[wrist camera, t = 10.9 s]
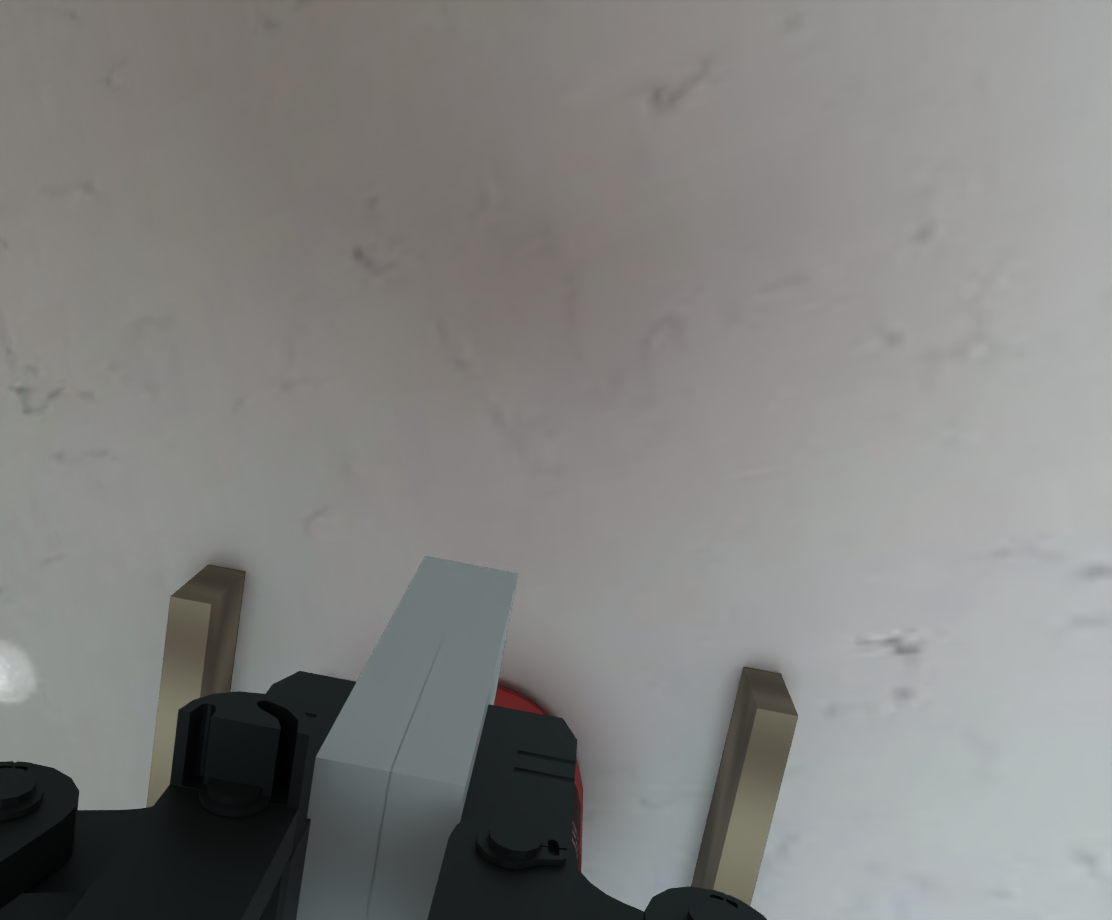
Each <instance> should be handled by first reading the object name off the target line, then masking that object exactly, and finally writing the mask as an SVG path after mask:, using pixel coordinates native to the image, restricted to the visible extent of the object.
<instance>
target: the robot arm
mask: <svg viewBox="0 0 1112 920" xmlns="http://www.w3.org/2000/svg"><path fill="white" fill-rule="evenodd" d="M517 577H518V573H513V572H508V571H502V570H497V569H492V568H487V567H481V566H476V565H471V564H466V563H460V562H455V561H450V560H445V559H439V558H434V557H429V556H425V557H424V559H423V561H422V563H421V565H420V566H419V568H418V570H417V572H416V574H415V576H414V577H413V579H412V581H411V583H410V585H409V587H408V588H407V590H406V592H405V594H404V596H403V598H402V600H401V601H400V603H399V605H398V607H397V609H396V611H395V612H394V614H393V616H392V618H391V620H390V622H389V623H388V625H387V627H386V629H385V631H384V633H383V634H382V636H381V638H380V640H379V642H378V644H377V645H376V647H375V649H374V651H373V653H372V655H371V657H370V658H369V660H368V662H367V664H366V666H365V668H364V669H363V671H362V673H361V675H360V677H359V679H358V680H357V682H355V681H349V680H344V679H339V678H334V677H328V676H323V675H318V674H313V673H307V672H302V671H299V672H297V673H295V674H293V675H291V676H289V677H287V678H285V679H283V680H281V681H279V682H277V683H275V684H273V685H272V686H271V687H270V689H269V690H268V691H267V693H266V694H259V693H249V692H227V693H215V694H211V695H208V696H205V697H201V698H198V699H195V700H192V701H191V702H189V703H188V704H186V705H185V706H184V707H182V708H181V709H179V710H178V718H177V726H176V735H175V744H174V752H173V761H172V770H171V778H170V785H169V786H168V788H167V789H166V790H165V791H164V793H163V794H162V795H161V797H160V798H159V799H158V800H157V802H156V803H155V804H154V806H152V807H147V808H142V809H130V810H77V809H78V798H79V790H78V788H77V787H76V785H75V783H74V782H73V780H72V779H71V778H70V777H69V776H67V775H65V774H63V773H61V772H60V771H58V770H56V769H54V768H51V767H46V766H42V765H37V764H33V763H28V762H17V763H13V761H11V762H0V920H767V919H766V918H765V917H764V916H763V915H762V914H760V913H759V912H757V911H756V910H755V909H753V908H752V907H750V906H749V905H747V904H746V903H744V902H743V901H741V900H739V899H737V898H735V897H733V896H731V895H726V894H725V893H723V892H719V891H716V890H711V889H704V888H698V887H681V888H671V889H668V890H666V891H664V892H662V893H660V894H658V895H656V896H654V897H653V898H652V899H651V901H650V903H649V905H648V906H647V908H646V910H645V912H643V911H641V910H639V909H636V908H634V907H632V906H629V905H627V904H624V903H622V902H620V901H618V900H616V899H614V898H612V897H610V896H608V895H607V894H605V893H604V892H602V891H601V890H599V889H598V888H597V887H595V886H594V885H593V884H591V883H590V882H589V881H588V880H587V879H586V878H585V876H584V875H583V874H582V873H581V872H580V871H579V869H578V861H577V857H576V853H575V850H574V846H573V845H572V844H571V843H572V825H573V806H574V787H575V783H574V781H575V768H576V765H575V763H576V749H577V739H576V738H575V736H574V735H573V733H572V732H571V730H570V729H569V727H568V726H567V724H566V723H565V721H564V720H563V718H558V717H553V716H548V715H542V714H537V713H532V712H527V711H522V710H516V709H511V708H506V707H501V706H495V705H494V701H495V695H496V690H497V684H498V679H499V674H500V668H501V663H502V658H503V652H504V647H505V642H506V636H507V631H508V625H509V620H510V615H511V609H512V604H513V599H514V593H515V588H516V582H517Z"/></svg>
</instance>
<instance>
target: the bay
mask: <svg viewBox="0 0 1112 920" xmlns="http://www.w3.org/2000/svg"><path fill="white" fill-rule="evenodd" d="M244 579H245V572H243V571H237V570H232V569H227V568H222V567H216V566H211V565H207V566H206V567H205V568H204V569H203V570H201V571H200V572H199V573H198V574H197V575H195V576H194V577H193V578H192V579H191V580H189V581H188V582H187V583H186V584H185V585H183V586H182V587H181V588H180V589H179V590H177V591H176V592H175V593H174V594H173V595H171V596H170V605H169V613H168V622H167V631H166V640H165V649H164V657H163V666H162V675H161V684H160V693H159V701H158V710H157V719H156V728H155V736H154V745H153V754H152V763H151V772H150V780H149V789H148V798H147V807H152V806H154V804H155V803H156V802H157V800H158V799H159V798H160V797H161V795H162V794H163V793H164V791H165V790H166V789H167V788H168V786H169V785H170V778H171V770H172V761H173V752H174V744H175V735H176V726H177V718H178V710H179V709H181V708H182V707H184V706H185V705H186V704H188V703H189V702H191V701H192V700H195V699H198V698H201V697H205V696H208V695H211V694H215V693H227V692H230V687H231V679H232V672H233V664H234V656H235V648H236V641H237V633H238V625H239V617H240V610H241V602H242V594H243V586H244ZM797 719H798V714H797V712H796V710H795V707H794V705H793V702H792V700H791V697H790V695H789V692H788V690H787V688H786V685H785V683H784V680H783V678H782V675H781V674H777V673H772V672H767V671H762V670H756V669H751V668H746V667H744V668H743V672H742V676H741V680H740V684H739V688H738V693H737V697H736V701H735V705H734V709H733V714H732V718H731V722H730V726H729V730H728V735H727V739H726V743H725V747H724V751H723V756H722V760H721V764H720V768H719V772H718V777H717V781H716V785H715V789H714V793H713V798H712V802H711V806H710V810H709V814H708V819H707V823H706V827H705V831H704V835H703V839H702V844H701V848H700V852H699V856H698V860H697V865H696V869H695V873H694V877H693V881H692V886H691V887H698V888H704V889H711V890H716V891H719V892H723V893H725V894H726V895H731V896H733V897H735V898H737V899H739V900H741V901H743V902H744V903H746V904H747V905H749V906H750V905H751V901H752V897H753V893H754V889H755V885H756V881H757V877H758V873H759V869H760V865H761V861H762V857H763V853H764V849H765V846H766V842H767V838H768V834H769V830H770V826H771V822H772V818H773V814H774V810H775V806H776V802H777V798H778V794H779V790H780V786H781V782H782V778H783V774H784V770H785V766H786V762H787V759H788V755H789V751H790V747H791V743H792V739H793V735H794V731H795V727H796V723H797ZM147 807H146V808H147Z"/></svg>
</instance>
